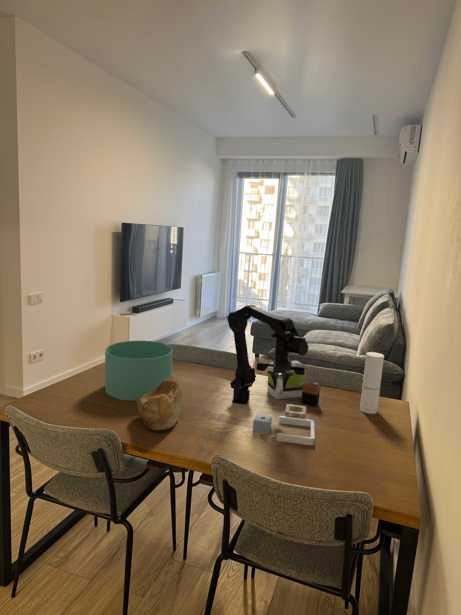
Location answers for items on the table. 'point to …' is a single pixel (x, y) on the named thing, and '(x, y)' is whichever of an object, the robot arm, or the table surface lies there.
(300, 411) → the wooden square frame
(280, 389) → the cylinder
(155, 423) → the rough brown rock
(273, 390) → the tea box
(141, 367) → the container
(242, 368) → the robot arm
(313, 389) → the battery
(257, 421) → the block
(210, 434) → the table surface
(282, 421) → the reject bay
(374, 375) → the cylindrical container
